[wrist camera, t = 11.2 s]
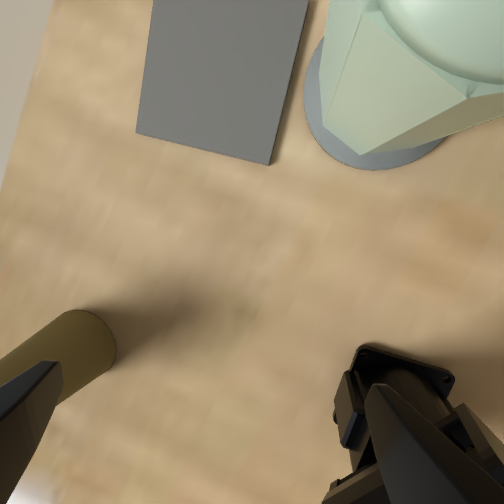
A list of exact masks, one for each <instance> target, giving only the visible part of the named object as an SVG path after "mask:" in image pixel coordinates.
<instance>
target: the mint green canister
mask: <svg viewBox="0 0 504 504" xmlns="http://www.w3.org/2000/svg"><path fill="white" fill-rule="evenodd" d="M319 82H320V95H321V107H322V120H323V126H324V127H325V128H326V129H327V130H329V131H330V132H331V133H332V134H334V135H335V136H336V137H337V138H339V139H340V140H341V141H342V142H344V143H345V144H346V145H347V146H349V147H350V148H351V149H352V150H354V151H355V152H356V153H357V154H359V155H360V156H361V155H368V154H375V153H382V152H388V151H395V150H402V149H409V148H414V147H417V146H419V145H422V144H425V143H428V142H431V141H434V140H437V139H439V138H442V137H445V136H448V135H451V134H454V133H456V132H459V131H462V130H465V129H468V128H471V127H474V126H476V125H479V124H482V123H485V122H488V121H491V120H493V119H496V118H499V117H502V116H504V0H330V1H329V8H328V14H327V21H326V28H325V35H324V42H323V48H322V55H321V62H320V69H319Z"/></svg>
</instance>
